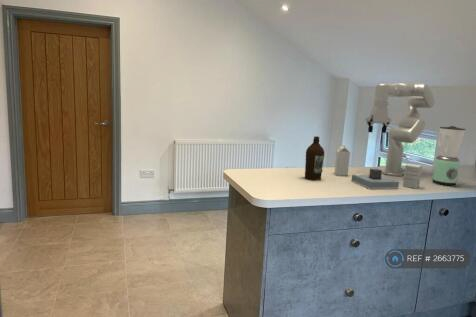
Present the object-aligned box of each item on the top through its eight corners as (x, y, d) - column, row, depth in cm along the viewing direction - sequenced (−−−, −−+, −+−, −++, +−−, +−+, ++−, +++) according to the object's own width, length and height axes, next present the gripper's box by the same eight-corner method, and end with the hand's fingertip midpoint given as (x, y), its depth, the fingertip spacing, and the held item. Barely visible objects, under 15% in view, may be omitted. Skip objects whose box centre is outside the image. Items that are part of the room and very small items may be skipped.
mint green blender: (463, 187, 213) (473, 128, 207) (441, 186, 212) (451, 127, 206) (443, 180, 232) (451, 125, 226) (423, 179, 231) (431, 124, 225)
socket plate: (377, 181, 218) (378, 173, 217) (398, 188, 201) (399, 180, 200) (351, 181, 213) (352, 173, 212) (370, 189, 196) (371, 181, 195)
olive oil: (299, 177, 216) (303, 135, 212) (312, 175, 222) (316, 135, 218) (312, 181, 207) (316, 137, 203) (325, 179, 213) (329, 137, 209)
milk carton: (345, 173, 234) (348, 144, 231) (347, 176, 227) (350, 146, 224) (334, 173, 235) (337, 144, 231) (336, 175, 228) (339, 145, 224)
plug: (375, 182, 209) (376, 168, 208) (380, 184, 205) (381, 170, 204) (368, 182, 208) (370, 168, 207) (373, 184, 204) (375, 170, 202)
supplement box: (405, 184, 213) (408, 163, 211) (419, 187, 208) (422, 165, 206) (402, 186, 207) (405, 164, 205) (416, 189, 203) (419, 167, 201)
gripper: (388, 104, 226) (384, 132, 229) (364, 103, 221) (361, 131, 224) (396, 105, 219) (392, 133, 222) (372, 104, 214) (368, 132, 217)
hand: (377, 132), depth 223 cm, fingers open, 9 cm apart
